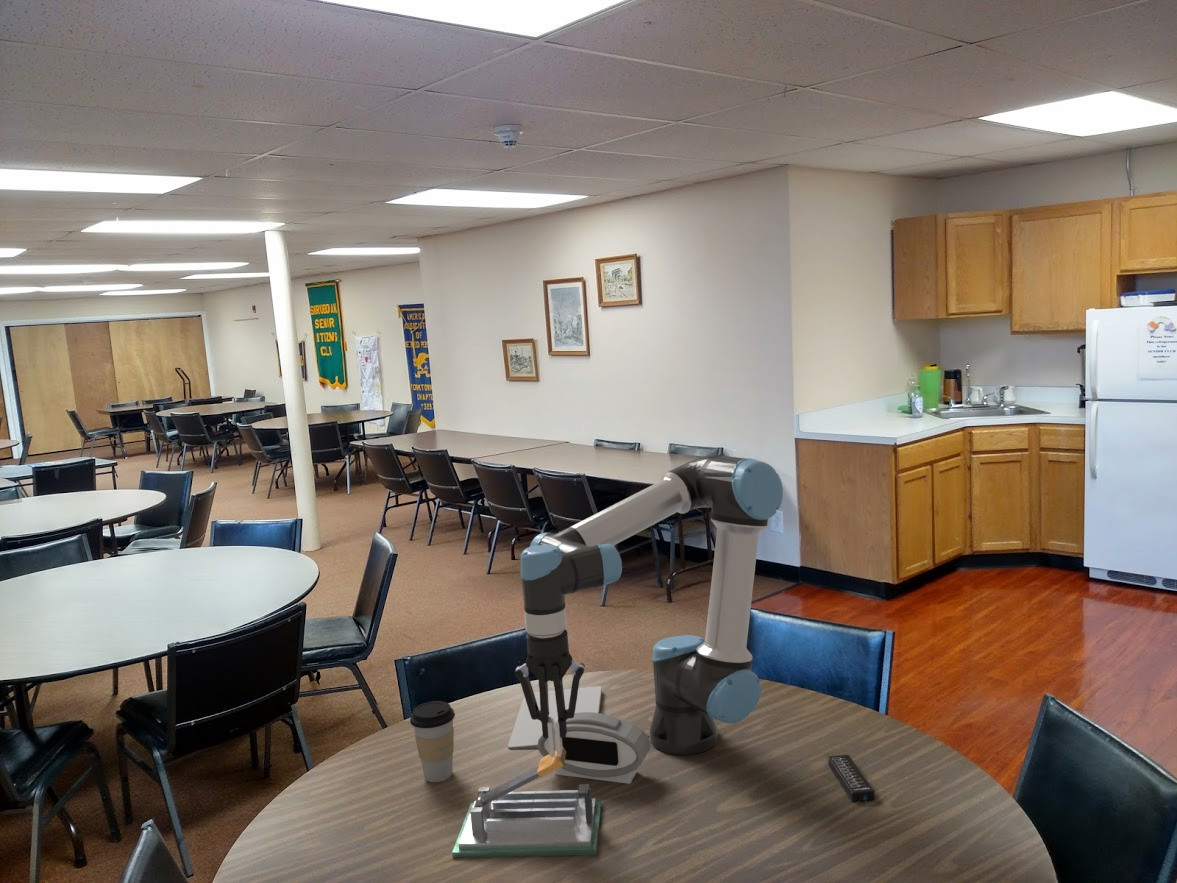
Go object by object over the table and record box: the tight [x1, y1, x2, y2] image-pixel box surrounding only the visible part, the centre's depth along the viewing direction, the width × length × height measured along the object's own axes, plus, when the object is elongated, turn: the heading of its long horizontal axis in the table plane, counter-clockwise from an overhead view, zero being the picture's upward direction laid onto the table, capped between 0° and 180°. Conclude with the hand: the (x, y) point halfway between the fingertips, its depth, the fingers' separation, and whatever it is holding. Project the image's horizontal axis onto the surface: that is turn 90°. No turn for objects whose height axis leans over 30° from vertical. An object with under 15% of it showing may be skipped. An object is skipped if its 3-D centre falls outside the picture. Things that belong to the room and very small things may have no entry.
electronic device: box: [507, 685, 603, 750], centre depth 208 cm, size 29×20×2 cm
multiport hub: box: [828, 754, 876, 803], centre depth 171 cm, size 4×14×2 cm, turn 3°
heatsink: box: [451, 783, 602, 858], centre depth 162 cm, size 26×16×8 cm, turn 86°
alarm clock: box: [537, 712, 652, 784], centre depth 180 cm, size 23×6×13 cm, turn 70°
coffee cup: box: [409, 700, 456, 783], centre depth 184 cm, size 9×9×15 cm
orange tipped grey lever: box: [474, 748, 566, 807], centre depth 161 cm, size 19×5×2 cm, turn 85°
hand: (556, 752), depth 160 cm, fingers closed
